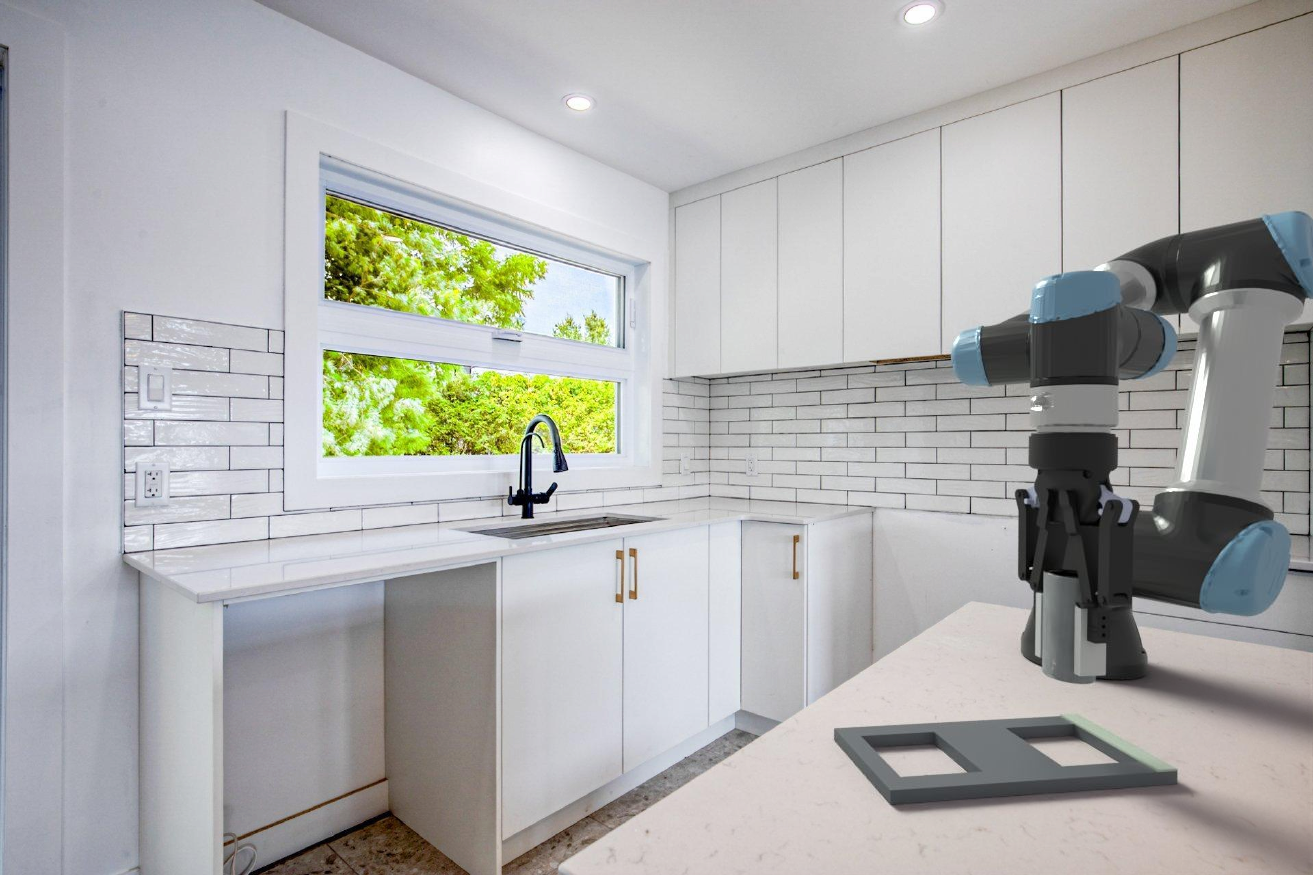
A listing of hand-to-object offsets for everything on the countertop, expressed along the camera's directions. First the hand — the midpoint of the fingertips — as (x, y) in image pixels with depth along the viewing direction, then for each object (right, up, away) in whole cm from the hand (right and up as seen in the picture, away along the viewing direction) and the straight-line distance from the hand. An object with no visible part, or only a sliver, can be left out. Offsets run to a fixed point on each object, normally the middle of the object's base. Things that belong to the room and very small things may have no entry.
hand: (1068, 664), depth 65 cm
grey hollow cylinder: (0, -1, 0) cm, 1 cm away
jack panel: (-8, -9, -1) cm, 12 cm away
